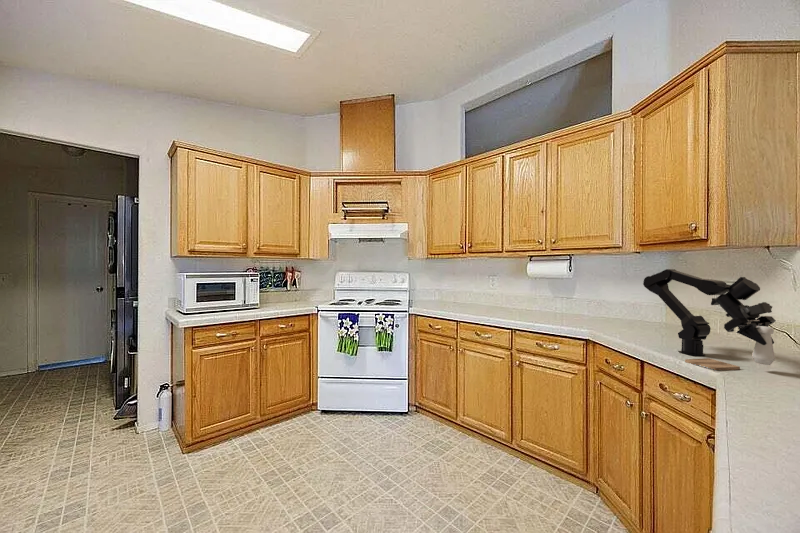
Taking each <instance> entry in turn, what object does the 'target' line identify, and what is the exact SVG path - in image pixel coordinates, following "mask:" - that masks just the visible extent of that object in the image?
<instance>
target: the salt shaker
mask: <svg viewBox="0 0 800 533" xmlns="http://www.w3.org/2000/svg"><path fill="white" fill-rule="evenodd" d="M756 330H757V331H758V332H759V333H760V335H761V336H762V337H763V338H764V340H765V341H766V343H767V344H766V345H762V344H760V343H758V342H756V341H755V343H754V344H755V345H754V347H753V350H752V353H751V355H752V358H753V360H754V363H756V364H759V365H764V366H771V365H772V364H773V363H774V362H775V360H776V356H775V351H774V344H772V339H773V338H772V339H771V337H772V335H773V334H774V333H775V332H774V331H775V330H774V328H773V327H770V326H768V327H767V326H758V327H757V329H756Z"/></svg>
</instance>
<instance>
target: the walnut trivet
mask: <svg viewBox="0 0 800 533" xmlns="http://www.w3.org/2000/svg"><path fill="white" fill-rule="evenodd" d="M684 362H685V363H687V364H690V363H691V365H694V364H696V365H695V366H697V365H701V366H705V367H708V368H711V369H714V370H722V371H733V370H734V371H735V370H741V366H739V365H735V364H732V363H727V362H724V361H720V360H718V359H714V358H713V359H712V358H709V357H706V358H689V359H688V358H685V360H684ZM711 369H710V370H711ZM714 370H713V371H714Z"/></svg>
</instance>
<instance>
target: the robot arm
mask: <svg viewBox="0 0 800 533" xmlns="http://www.w3.org/2000/svg"><path fill="white" fill-rule="evenodd" d="M672 281H675V282H678V283H682V284H685V285H687V286H690V287H694V288H696V289H697V290H698V291H699V292H701V293H703V294H704V295H706V296H717V297H712V298H711V302H710V305H711V306H719V307H721V308H722V309H723V311H725V316H726V317H728V318H731V319H730V320H728V321H727V322H726V323H724V324H723V329H724V330H725V331H726V332H727V333H733V332H735V329H736V328H738V330H737V331H736V334H739V335H742V336H744V337H746V338H748V339H751V340H753V341H755V343H756V342H758V343H760V344H762V345H766V344H767V343H766V341H765V340H764V338H763V337H762V336H761V335H760V333H759V332H758V331H757V330H756V329H757V327H758V326H767V327H770V325H772V324H774V323H775V322H777V321H776V319H775V318H774V317H773V316H770V315H763V314H767V313H768V314H770V313H773V310H772V308H773V305H770V303H768V302H767V301H762V302H759V303H757V304H754V305H747V304H746V305H745V304H743V303H742V302H741V300H742V301H747V300H748V299H749V298H751V297H752V296H754V295H755V294H757V293H758V292H759V291H760V290H761V287H760V286H759V285H758V284H757V283H756V282H755V281H752V280H751V279H747V278H746V277H745V276H740V277H739V278H737V280H736V281H734V282H733V283H732V284H728V283H727V282H725V281H724V280H720V279H719V280H718V279H710V278H702V277H698V276H696V275H692V274H688V273H685V272H682V271H679V270H677V269H673V268H670V269H669V268H668V269H667V268H666V269H664V270H662V271H660V272H657V273H655V274H652V275H648V276H646V277H644V278H643V283H642V284H643V287H644V288H645V289H647V290H648V291H649V292H651V293H653V294H655V295H656V296H658V297H659V299H661V301H662V302H663V303H664V304H665V305H666V306H667V307H668V308H669V309H670V310H671V312H672V313H673V314H674V315H675V316H676V318H678V319H679V320H680V323H681V327H682V329H681V330H680V331H679V332H678V333H677V336H678V339H681V349H680V350H678V352H679V353H680V354H685V355H688V356H692V357H696V356H698V357H699V356H700V357H701V356H706V354H705V353H704V344H703V342H704V341H705V340H707V338H708V336H709V335H710V334H711V330H712V328H711V326H710V322H708V321H707V320H706V319H705V318H704V317H703V316H702V315H694V314H692V312H691V311H690V310H689V309H688V308H687V307H686V306H685V304H684V303H682V302H681V300H680V299H678V298H677V297H676V295H675V294H673V292H672V291H671V290H670V288H669V283H671V282H672ZM771 339H772V344H773V345H774V344H775V341H774V340H773V337H772V336H771Z"/></svg>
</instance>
